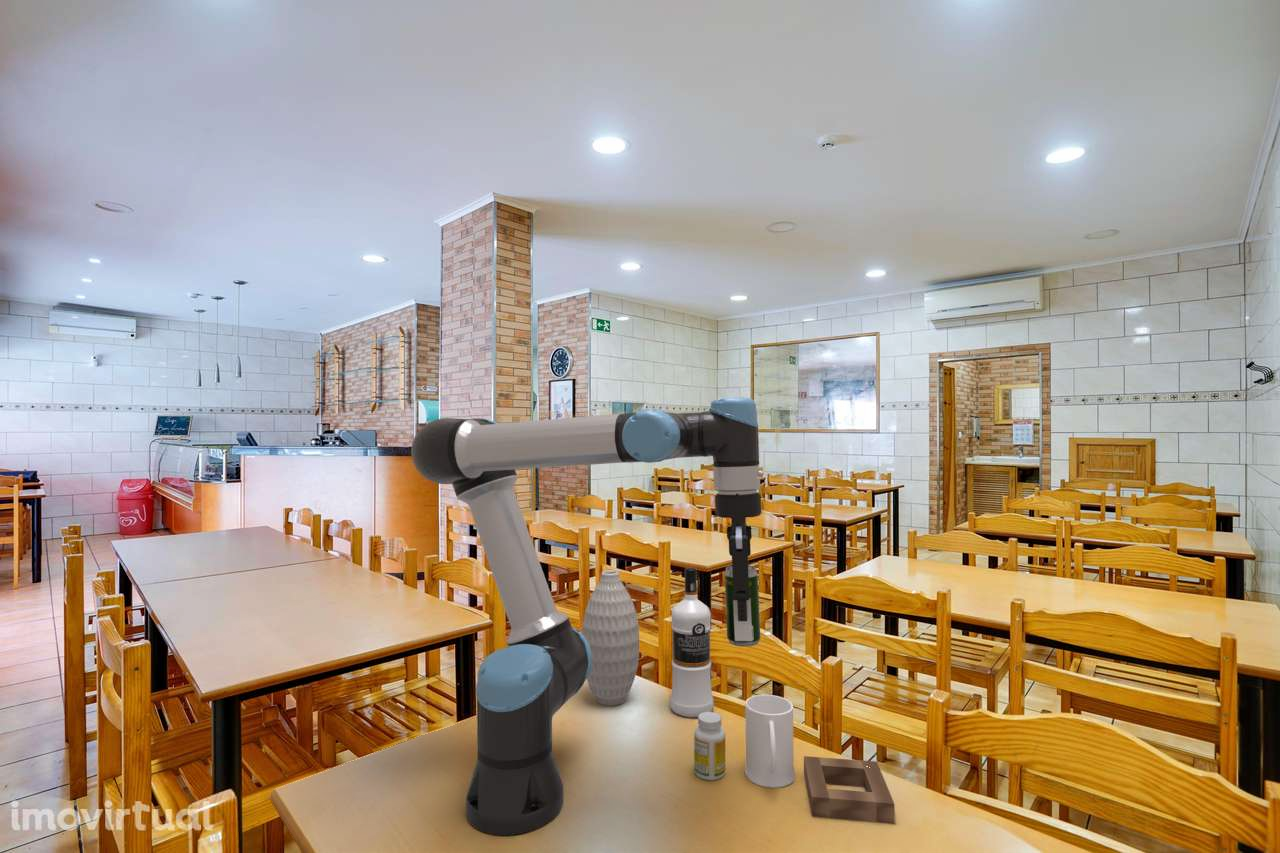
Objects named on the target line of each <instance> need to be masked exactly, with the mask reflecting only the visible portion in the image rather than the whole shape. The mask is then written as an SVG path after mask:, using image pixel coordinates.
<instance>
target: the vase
mask: <svg viewBox="0 0 1280 853" xmlns="http://www.w3.org/2000/svg"><path fill="white" fill-rule="evenodd" d="M584 611H585V612H584V615H583V620H582V626H581V633H582V634H583V635H584V636H585V638H586V639H587V641H588V643H589V646H590V648H591V653H592V665H591V670H590V673H589V675H588V677H587V679H586V681H587V684H588V686H589V689H590V691H591V692H592V695H593V696H594V698H595V699H596V701H597V703H598V704H600V705H602V706H609V707H610V706H618V705H621V704H623V703H624V702H625V701H626V699H627V696H628V695H629V693H630V691H631V689H632V687H633V684H634V682H635V678H636V675H637V672H638V666H639V659H640V628H639V621H638V615H637V611H636V607H635V604H634V602H633V600H632V597H631V595H630V593H629V591H627V589H626V587H625V585H624V583H623V582H622V580H621V577H620V572H619V571H618V570H613V569H611V570H608V569H607V570H603V571H601V576H600V580H599V581H598V583H597V584H596V586H595V588H594V590H593V592H592V593H591V595H590V597H589V599H588V602H587V605H586V608H585V610H584Z"/></svg>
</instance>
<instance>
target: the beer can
mask: <svg viewBox="0 0 1280 853" xmlns="http://www.w3.org/2000/svg"><path fill="white" fill-rule="evenodd" d="M748 576H749V593H750V600H751V623H752V641H735V630H734V607H733V600H729V596H733V573H732V565H729V566H728V565H727V566H726V567H725V572H724V591H725V615H726V616H725V618H726V638H727V639H728V642H729V644H731V645H732V646H735V647H744V648H745V647H746V648H747V647H753V646H756V645H758V644H759V643H760V640H761V623H760V622H761V620H760V619H761V616H760V614H761V613H760V596H759V574H758V571H757V567H756V566H753V565H751V564H750V565H749V564H748Z"/></svg>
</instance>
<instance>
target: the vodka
mask: <svg viewBox="0 0 1280 853" xmlns="http://www.w3.org/2000/svg"><path fill="white" fill-rule="evenodd" d="M697 574H698V573H697V568H695V567H686V568H684V599H681V601H680V602H678V603H677V604H675V605H674V606H673V608H672V611H671V613H670V615H671V629H672V660H671V666H672V685H671V694H670V696H669V706H670V708H671V710H672V711H673V712H674V713H675V714H677V715H678V714H679V716H682V717H685V718H691V717H693V718H694V717H695V718H698V716H699V715H700V714H701V713H704V712H713V708H714V702H715V701H714V696H713V693H712V692H713V691H712V685H711V684H712V683H711V668H712V667H711V666H712V661H711V629H712V628H711V627H712V625H711V616H712V613H711V610H710V607H708V605H707V604H705V603H703V602H702V601H701V600H699V599H698V591H697V589H698V588H697V586H698V585H697V584H698V583H697V581H698V580H697V577H698V576H697ZM693 718H692V719H693ZM695 718H694V719H695Z"/></svg>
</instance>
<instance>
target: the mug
mask: <svg viewBox="0 0 1280 853" xmlns="http://www.w3.org/2000/svg"><path fill="white" fill-rule="evenodd" d="M744 708H745V710H744V711H745V713H744V714H745V765H744V774H745V776H746V778H747V780H749V781H751V782H752V783H754V784H756V785H758V786H759V787H760V786H761V787H764V788H771V789H779V788H784V787H787V786H789V785H792V783H794V781H795V780H796V779H795V778H796V772H795V766H794V763H795V762H794V760H795V759H794V758H795V756H794V705H793V703H792V702H791V701H790V700H788V699H786V698H785V697H782V696H779V695H772V694H758V695H753V696H750V697H748V698H747V699H746V700H745V707H744Z"/></svg>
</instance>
